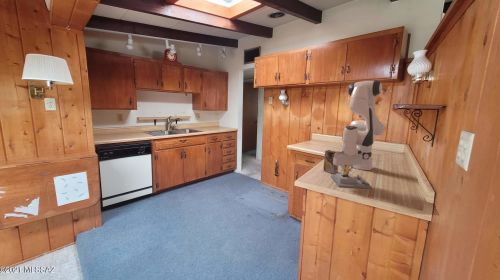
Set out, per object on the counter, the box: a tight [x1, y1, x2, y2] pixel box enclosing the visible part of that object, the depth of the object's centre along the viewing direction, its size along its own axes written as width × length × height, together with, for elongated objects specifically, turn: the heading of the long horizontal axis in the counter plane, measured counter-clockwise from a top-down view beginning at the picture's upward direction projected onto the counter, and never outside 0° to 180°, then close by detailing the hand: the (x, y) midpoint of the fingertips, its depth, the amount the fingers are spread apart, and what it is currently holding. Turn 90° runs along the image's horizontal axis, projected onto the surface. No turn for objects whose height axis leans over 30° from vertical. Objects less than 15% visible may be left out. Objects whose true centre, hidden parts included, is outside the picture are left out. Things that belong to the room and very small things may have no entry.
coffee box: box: [323, 149, 339, 175], centre depth 160 cm, size 9×6×16 cm
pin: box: [342, 165, 350, 177], centre depth 139 cm, size 3×3×12 cm
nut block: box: [330, 172, 373, 190], centre depth 140 cm, size 18×20×4 cm
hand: (346, 171), depth 139 cm, fingers closed on pin, 3 cm apart
